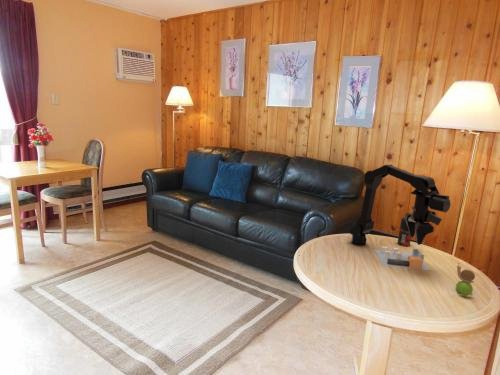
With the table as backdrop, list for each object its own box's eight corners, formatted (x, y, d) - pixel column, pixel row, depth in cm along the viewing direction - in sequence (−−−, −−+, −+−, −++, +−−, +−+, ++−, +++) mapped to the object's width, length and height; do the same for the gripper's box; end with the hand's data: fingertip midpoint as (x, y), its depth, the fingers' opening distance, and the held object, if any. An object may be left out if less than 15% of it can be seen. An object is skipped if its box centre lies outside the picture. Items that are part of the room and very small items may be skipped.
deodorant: (397, 247, 174) (402, 219, 171) (396, 243, 180) (400, 216, 177) (410, 249, 173) (415, 221, 169) (408, 245, 178) (413, 218, 175)
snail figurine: (453, 288, 135) (458, 260, 132) (472, 294, 131) (478, 265, 128) (450, 293, 130) (456, 264, 128) (470, 299, 126) (476, 270, 124)
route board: (382, 267, 150) (382, 265, 149) (373, 251, 167) (374, 249, 167) (429, 273, 147) (430, 270, 147) (416, 256, 164) (417, 254, 164)
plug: (388, 265, 149) (389, 256, 149) (386, 261, 153) (387, 253, 152) (421, 269, 147) (423, 260, 147) (418, 265, 151) (420, 256, 150)
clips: (384, 257, 157) (385, 251, 157) (381, 252, 164) (382, 246, 163) (400, 259, 156) (401, 253, 156) (397, 254, 163) (397, 248, 162)
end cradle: (417, 262, 155) (418, 255, 154) (411, 255, 162) (412, 248, 162) (422, 262, 154) (424, 255, 154) (417, 255, 162) (418, 248, 161)
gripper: (450, 214, 134) (443, 250, 138) (432, 202, 152) (427, 235, 156) (421, 211, 136) (415, 247, 139) (407, 200, 154) (401, 232, 157)
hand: (415, 240), depth 148 cm, fingers open, 9 cm apart
